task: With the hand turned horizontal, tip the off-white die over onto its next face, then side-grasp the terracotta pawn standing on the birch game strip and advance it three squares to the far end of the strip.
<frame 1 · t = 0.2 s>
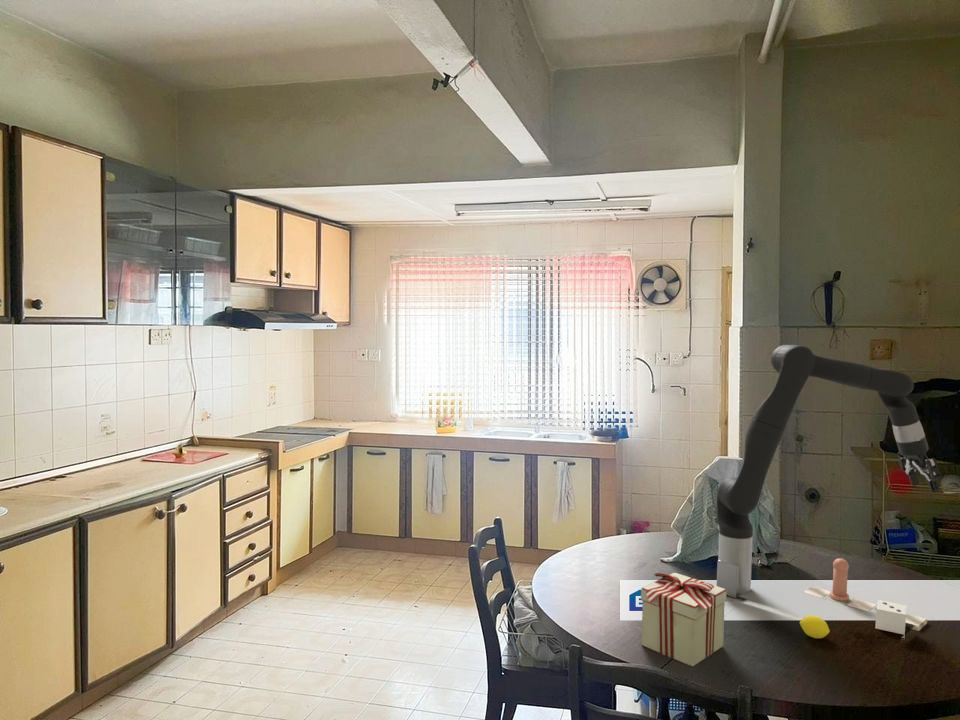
hand: (925, 488, 211), 31 cm above the table, tool tilted 20°, fingers open, 8 cm apart
kendama: (762, 558, 240), on the table
die: (890, 631, 186), on the table
board: (861, 609, 199), on the table
lemon: (814, 637, 182), on the table
pawn: (839, 598, 203), point 1 cm above the table, touching board
gift box: (681, 650, 175), on the table
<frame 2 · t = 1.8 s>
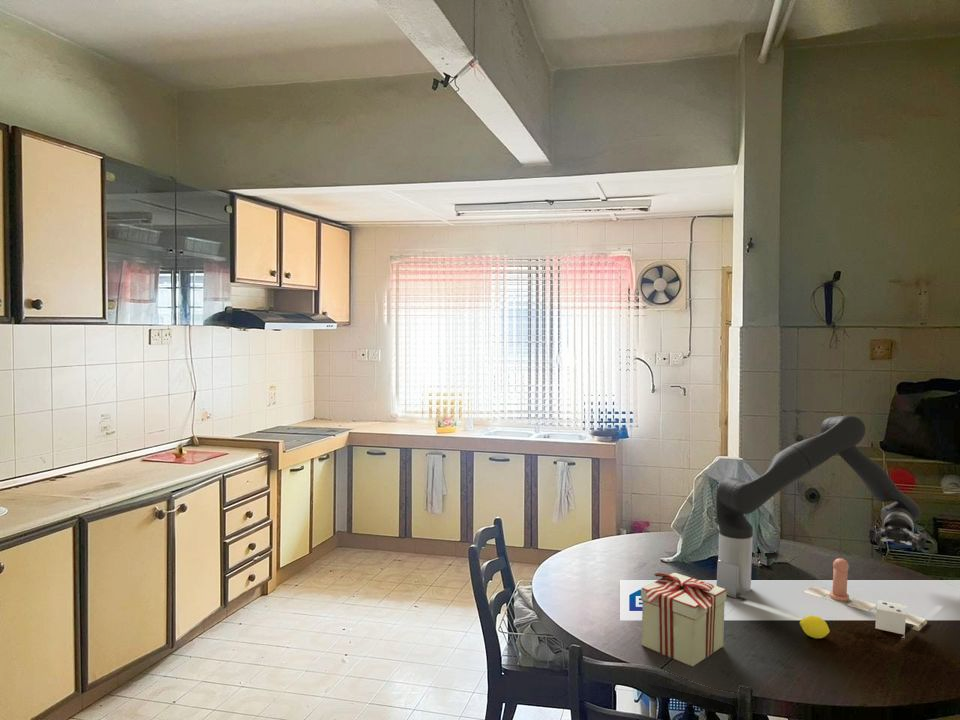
hand: (895, 543, 193), 20 cm above the table, tool horizontal, fingers open, 7 cm apart
nothing on the table moved.
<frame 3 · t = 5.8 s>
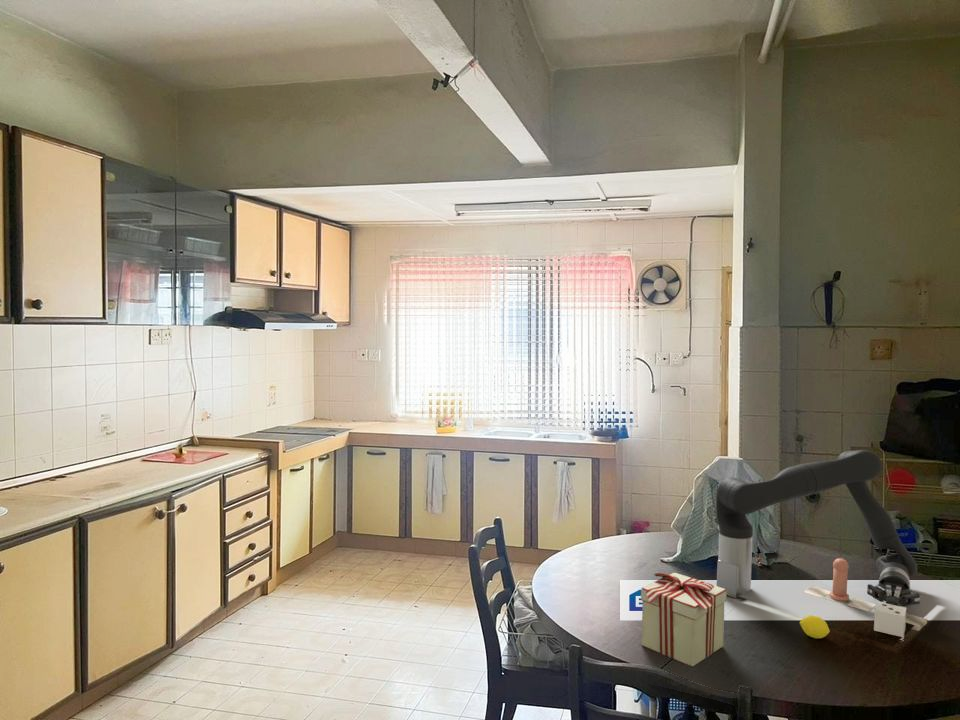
hand: (891, 605, 187), 6 cm above the table, tool horizontal, fingers closed
die: (889, 633, 184), on the table
everything else where it was.
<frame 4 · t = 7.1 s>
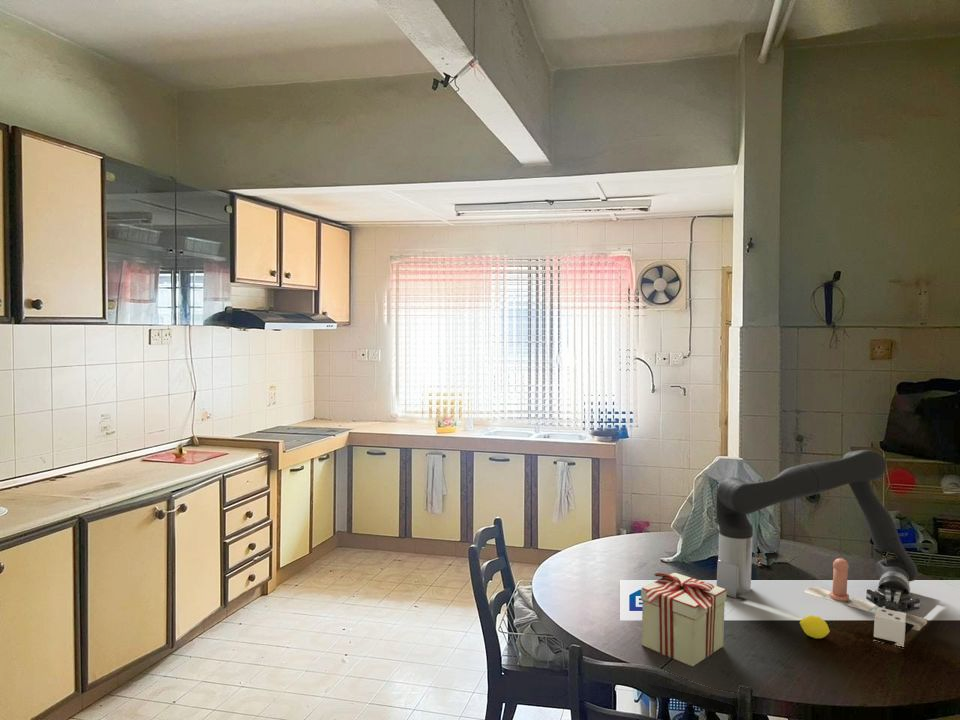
hand: (891, 611, 183), 6 cm above the table, tool horizontal, fingers closed
die: (889, 639, 181), on the table, touching gripper
everything else where it was.
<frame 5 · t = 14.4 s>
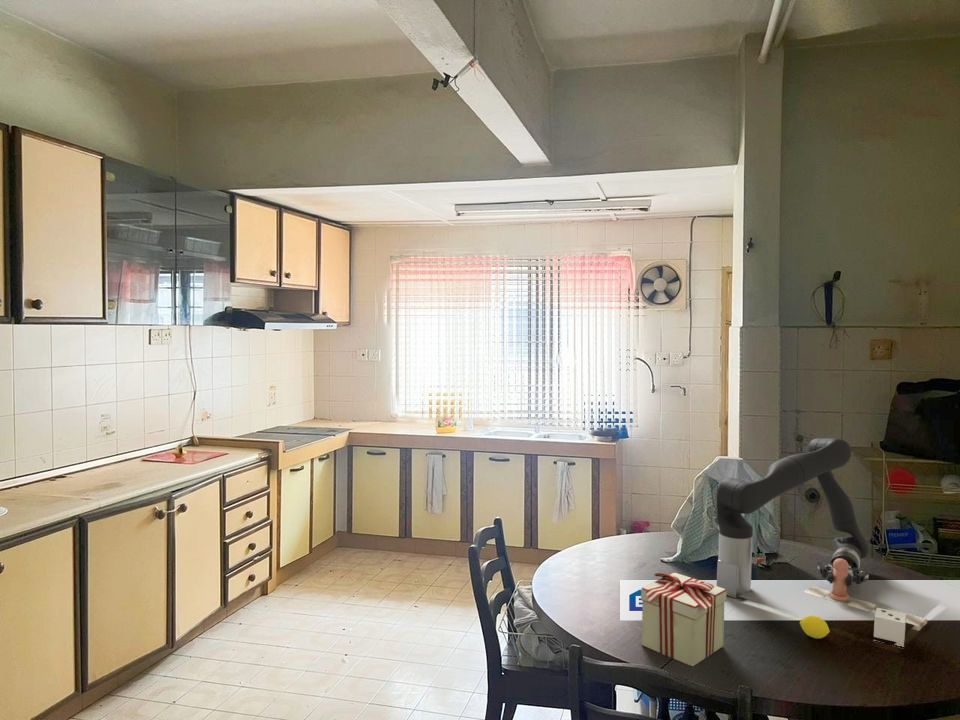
hand: (839, 581, 201), 7 cm above the table, tool horizontal, fingers closed on pawn, 3 cm apart
die: (889, 640, 181), on the table
pawn: (839, 598, 203), point 1 cm above the table, touching board, gripper
everything else where it was.
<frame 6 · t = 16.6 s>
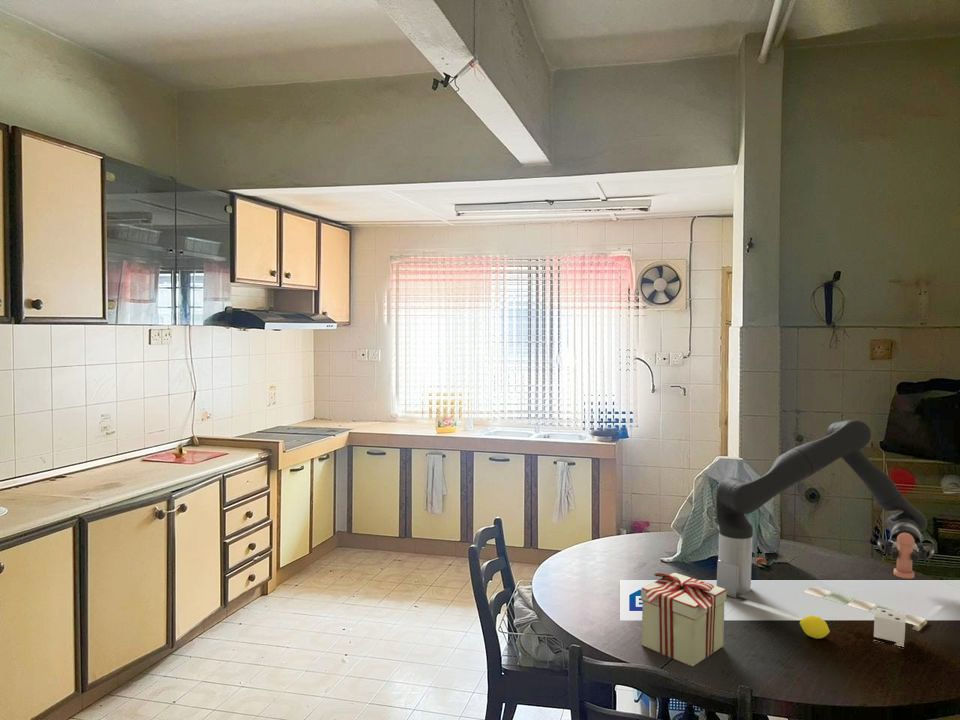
hand: (905, 557, 189), 18 cm above the table, tool horizontal, fingers closed on pawn, 3 cm apart
pawn: (903, 575, 192), point 12 cm above the table, touching gripper
when the fingers open (8 cm above the table, at t = 19.0 s): pawn drops 1 cm, resting on board.
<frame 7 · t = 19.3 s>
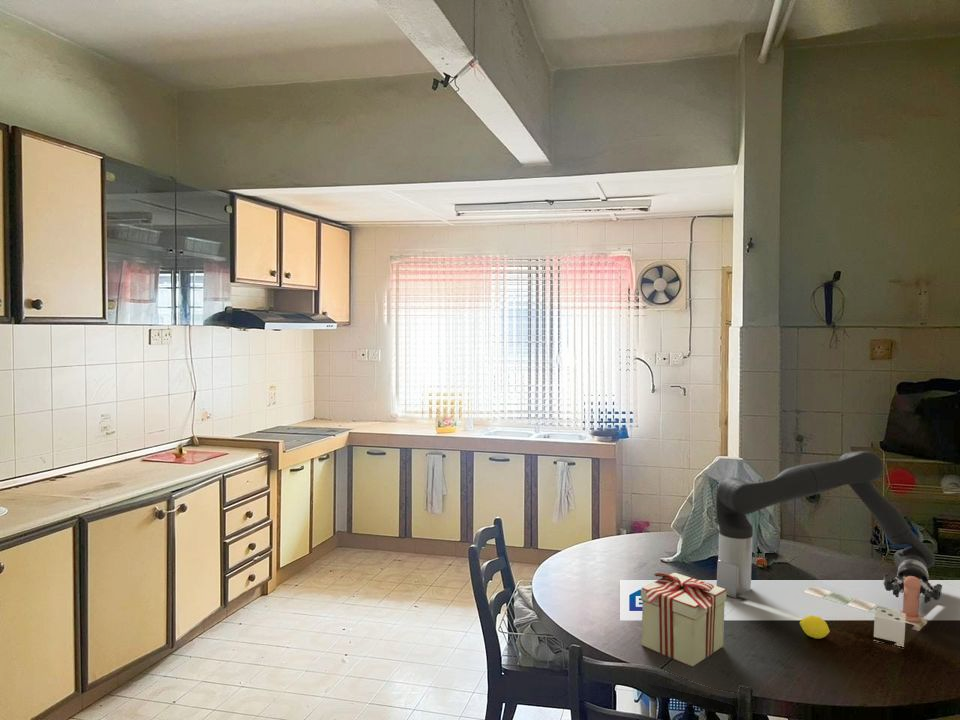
hand: (911, 596, 188), 8 cm above the table, tool horizontal, fingers open, 6 cm apart
pawn: (910, 618, 190), point 1 cm above the table, touching board
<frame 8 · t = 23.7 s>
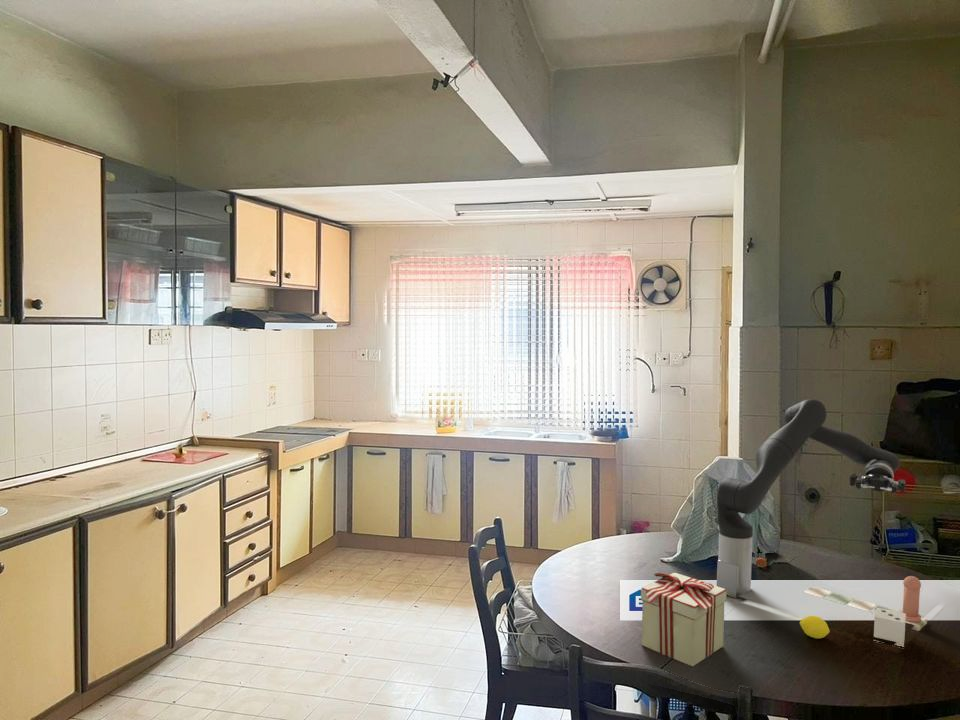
hand: (875, 487, 205), 32 cm above the table, tool horizontal, fingers open, 8 cm apart
at the end: pawn inside the target area (0.1 cm from its centre), point 1.2 cm above the table; pawn tilted 0°; die moved 5.7 cm from its start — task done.
